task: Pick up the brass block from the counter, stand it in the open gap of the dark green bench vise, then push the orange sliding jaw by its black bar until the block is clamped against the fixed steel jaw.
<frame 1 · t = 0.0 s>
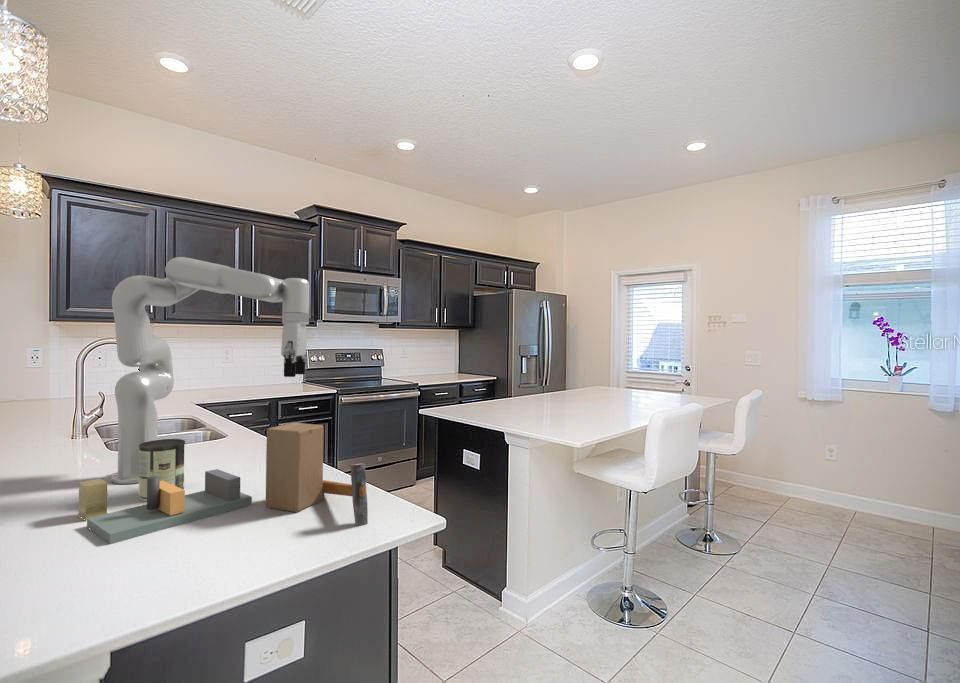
hand: (294, 375, 146), 31 cm above the counter, tool pointing down, fingers open, 9 cm apart
brass block: (92, 516, 113), on the counter
coffee can: (161, 496, 128), on the counter
sliding jaw: (160, 492, 112), point 6 cm above the counter, slide at 0.0 cm
vise: (175, 515, 115), on the counter
wooden block: (294, 504, 124), on the counter
hammer: (338, 507, 123), on the counter
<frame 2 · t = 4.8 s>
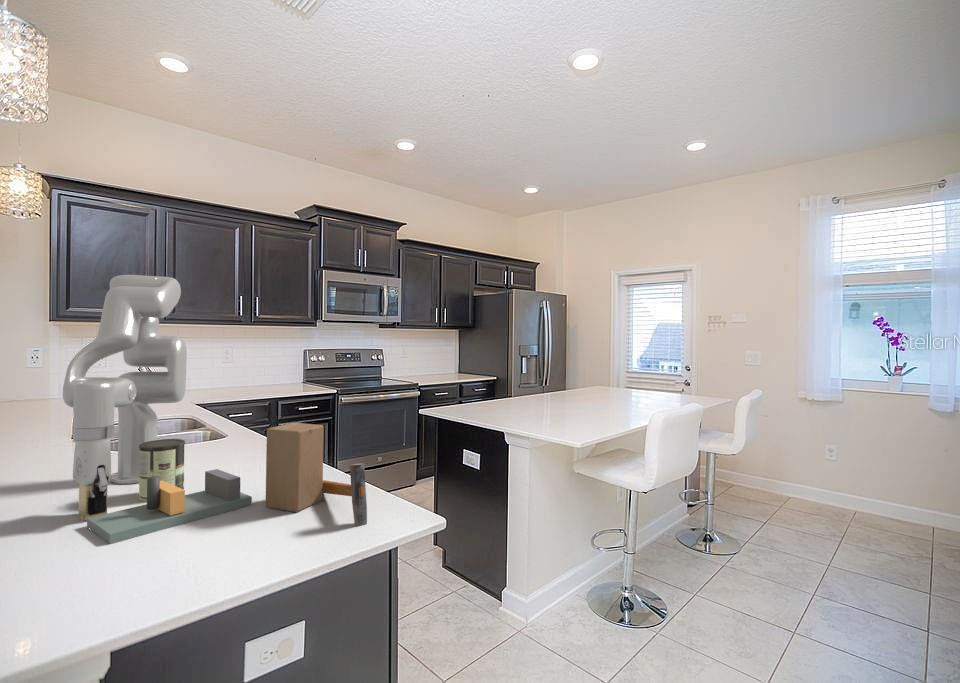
hand: (92, 509, 113), 1 cm above the counter, tool pointing down, fingers closed on brass block, 5 cm apart
brass block: (92, 516, 113), on the counter, touching gripper
everything else where it was.
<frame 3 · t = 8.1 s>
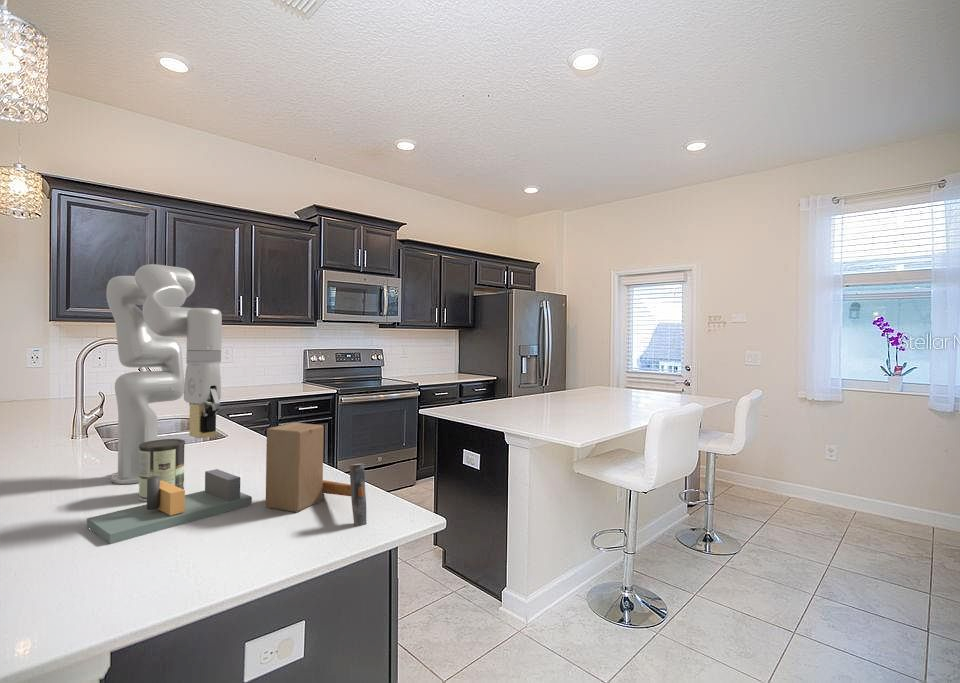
hand: (202, 429, 120), 19 cm above the counter, tool pointing down, fingers closed on brass block, 5 cm apart
brass block: (202, 435, 120), point 18 cm above the counter, touching gripper
everything else where it was.
when the fingers open (5 cm above the counter, at t = 11.4 s): brass block drops 1 cm, resting on vise.
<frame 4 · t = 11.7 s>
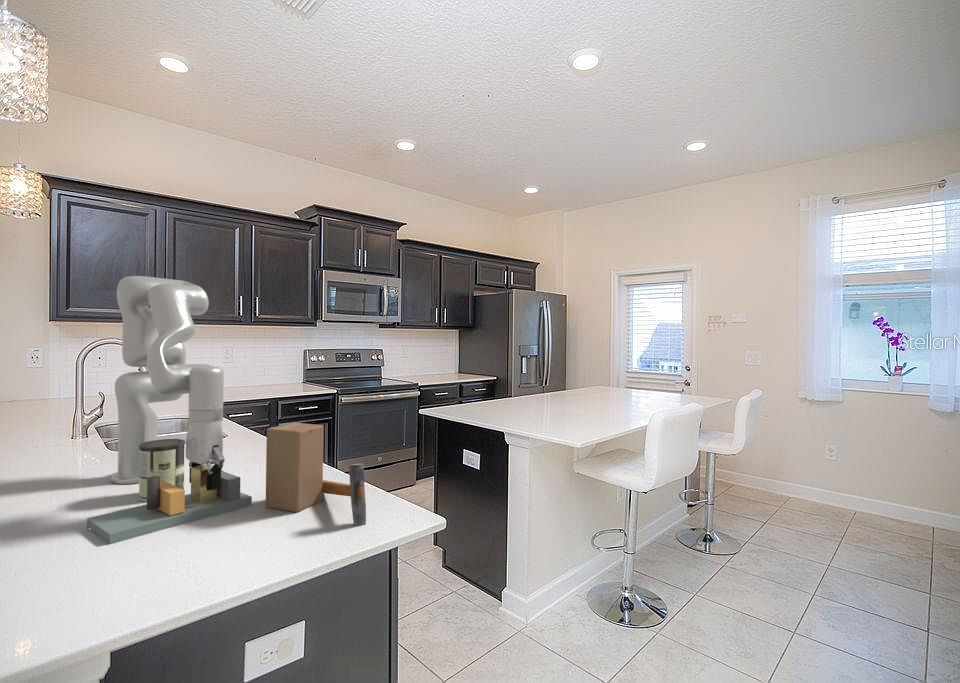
hand: (204, 485, 120), 6 cm above the counter, tool pointing down, fingers open, 8 cm apart
brass block: (203, 499, 120), point 2 cm above the counter, touching vise
everything else where it was.
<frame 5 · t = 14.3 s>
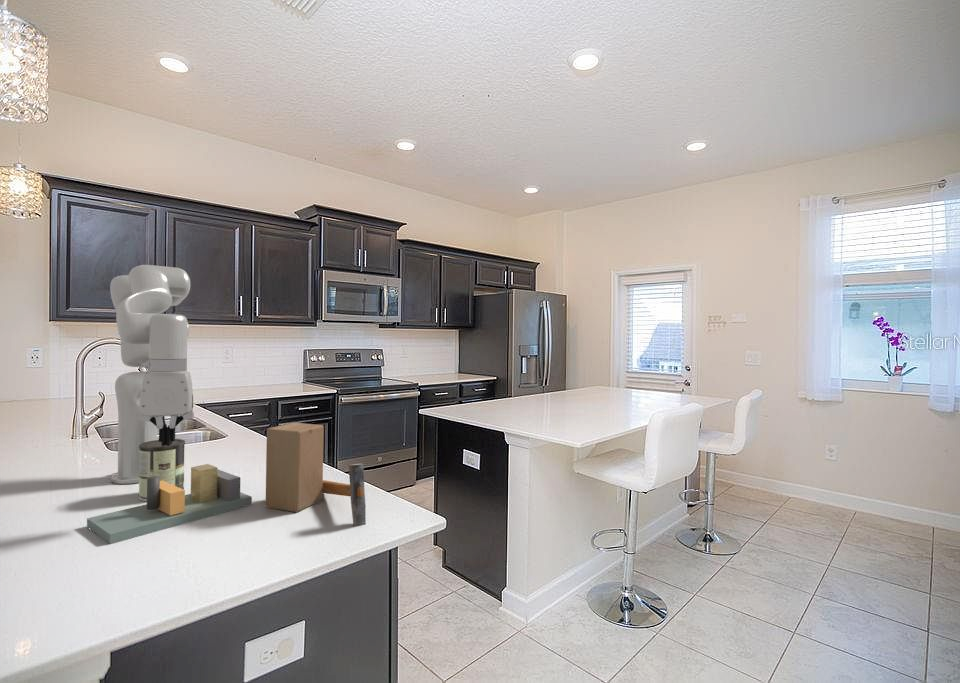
hand: (167, 444, 113), 17 cm above the counter, tool pointing down, fingers closed
nothing on the counter moved.
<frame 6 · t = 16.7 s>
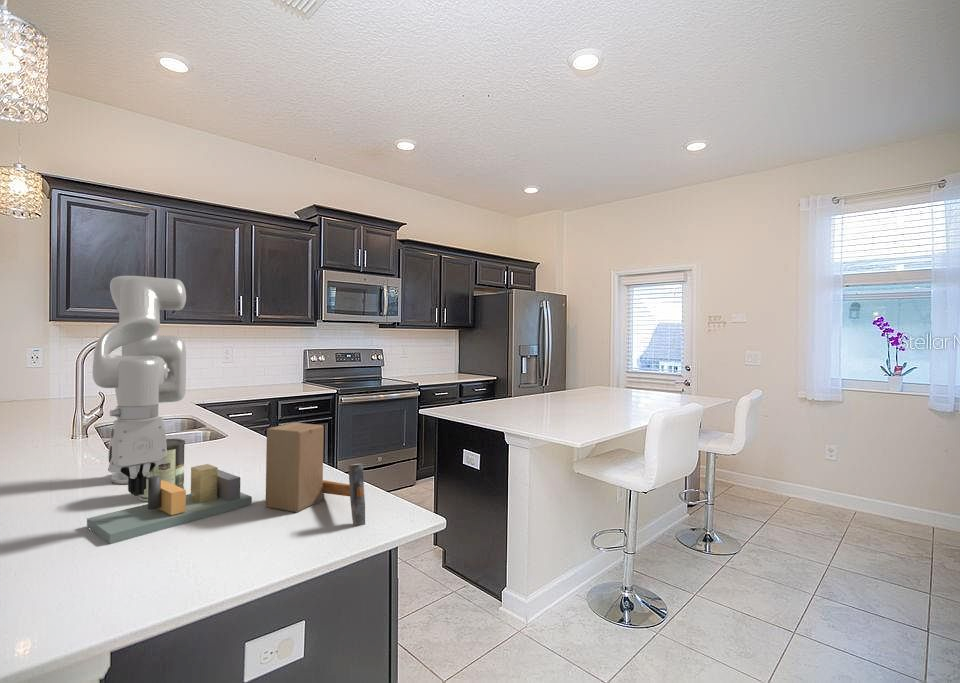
hand: (137, 493, 108), 7 cm above the counter, tool pointing down, fingers closed
sliding jaw: (161, 492, 112), point 6 cm above the counter, slide at 0.2 cm, touching gripper
everything else where it was.
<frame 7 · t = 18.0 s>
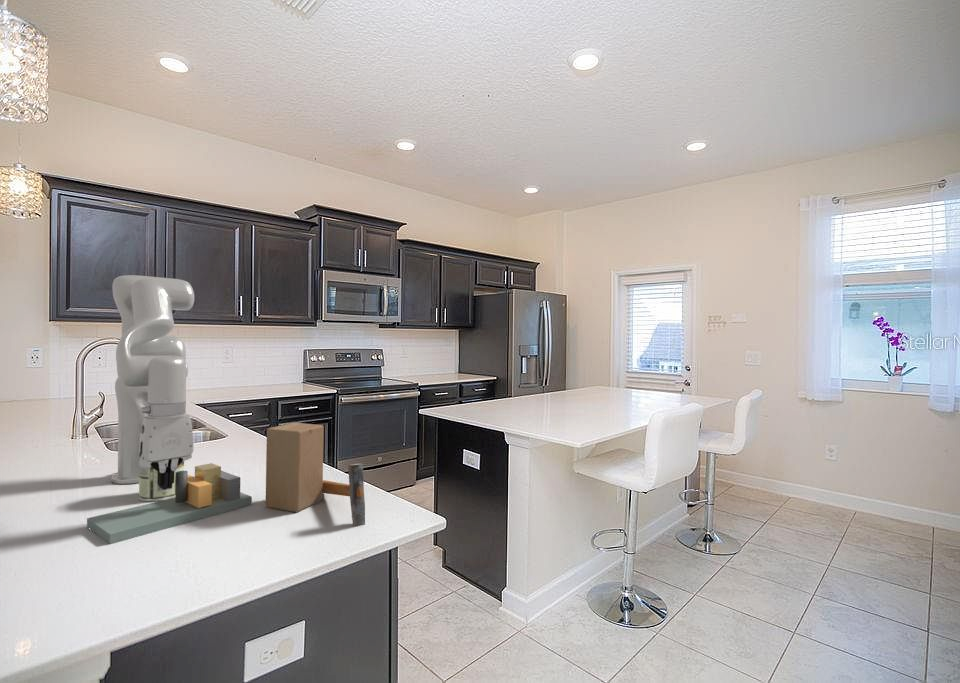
hand: (165, 487, 113), 7 cm above the counter, tool pointing down, fingers closed
brass block: (207, 498, 121), point 2 cm above the counter, touching sliding jaw, vise
sliding jaw: (188, 486, 117), point 6 cm above the counter, slide at 6.0 cm, touching brass block, gripper
everything else where it was.
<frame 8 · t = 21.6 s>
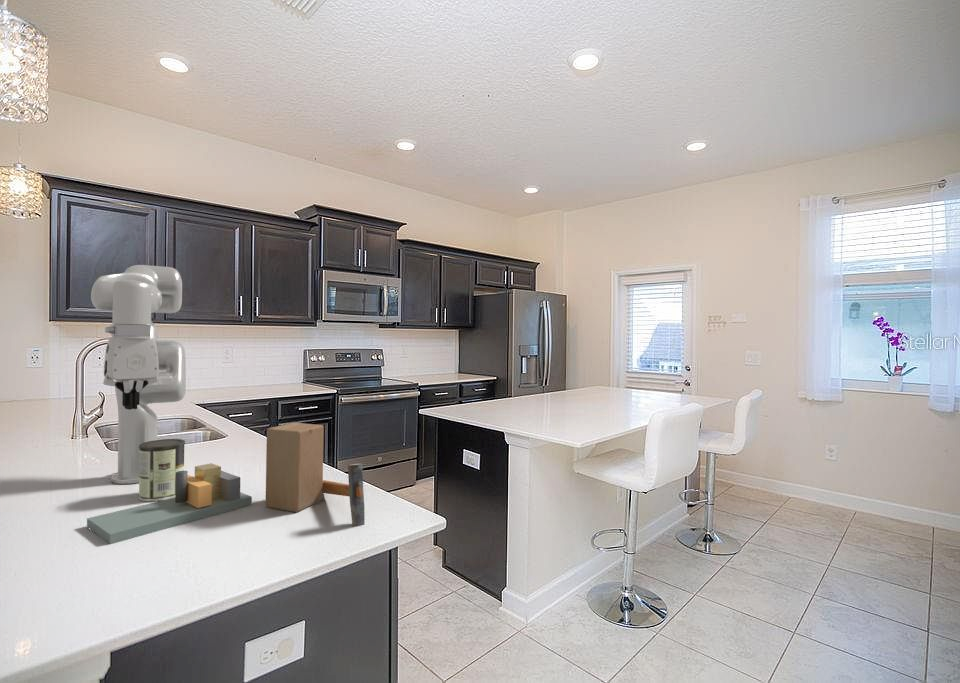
hand: (130, 408, 115), 25 cm above the counter, tool pointing down, fingers closed
brass block: (207, 498, 121), point 2 cm above the counter, touching vise
sliding jaw: (188, 486, 117), point 6 cm above the counter, slide at 6.0 cm
everything else where it was.
at the end: brass block 0.5 cm from the target spot on the vise, point 2.0 cm above the vise's base; brass block tilted 0°; sliding jaw slide at 6.0 cm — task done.
